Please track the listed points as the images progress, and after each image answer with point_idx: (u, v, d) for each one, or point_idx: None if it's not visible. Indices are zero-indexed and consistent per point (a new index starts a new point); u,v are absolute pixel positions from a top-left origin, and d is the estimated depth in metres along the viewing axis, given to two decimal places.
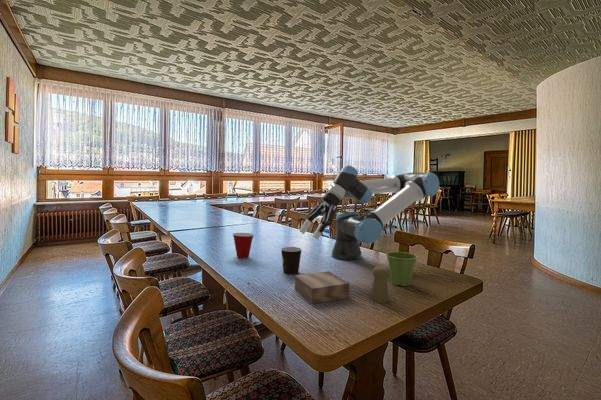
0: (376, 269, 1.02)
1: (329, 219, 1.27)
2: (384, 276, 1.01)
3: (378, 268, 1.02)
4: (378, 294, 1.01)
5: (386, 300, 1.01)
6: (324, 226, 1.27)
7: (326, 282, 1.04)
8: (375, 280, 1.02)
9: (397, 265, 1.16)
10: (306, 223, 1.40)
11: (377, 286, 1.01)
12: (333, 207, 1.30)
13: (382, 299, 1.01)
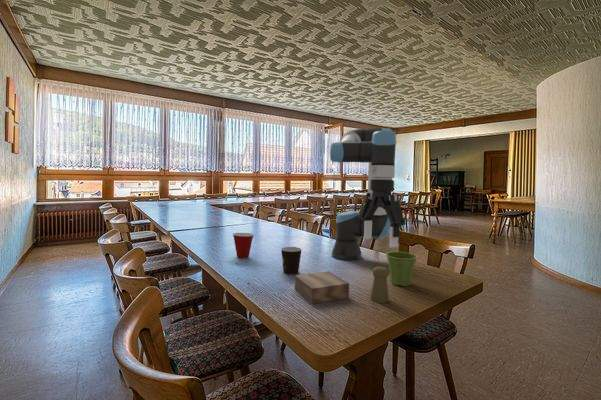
0: (376, 269, 1.02)
1: (399, 217, 0.93)
2: (384, 276, 1.01)
3: (378, 268, 1.02)
4: (378, 294, 1.01)
5: (386, 300, 1.01)
6: (397, 228, 0.94)
7: (326, 282, 1.04)
8: (375, 280, 1.02)
9: (397, 265, 1.16)
10: (367, 226, 1.08)
11: (378, 286, 1.01)
12: (394, 198, 0.95)
13: (382, 299, 1.01)
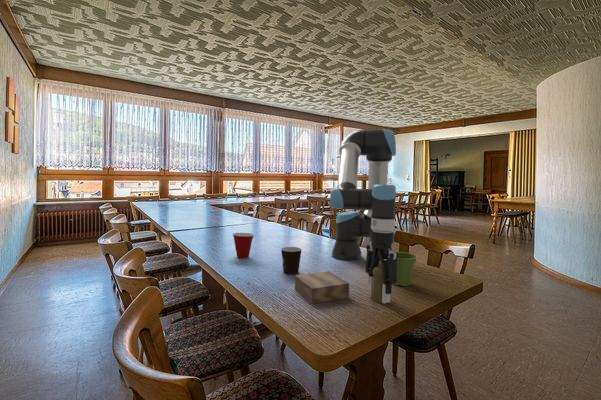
0: (376, 269, 1.02)
1: (392, 277, 0.97)
2: None
3: (378, 268, 1.02)
4: (378, 294, 1.01)
5: None
6: (389, 285, 0.99)
7: (326, 282, 1.04)
8: (375, 280, 1.02)
9: (397, 265, 1.16)
10: (372, 282, 1.06)
11: (378, 286, 1.01)
12: (393, 257, 0.96)
13: None
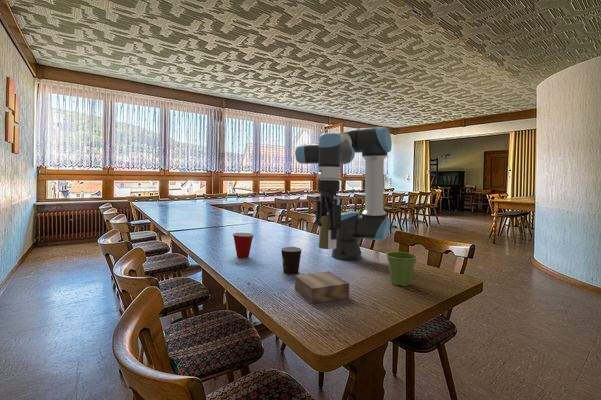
0: (323, 217, 1.05)
1: (336, 222, 1.00)
2: None
3: (325, 216, 1.05)
4: (325, 241, 1.04)
5: None
6: (334, 231, 1.01)
7: (326, 282, 1.04)
8: (322, 228, 1.05)
9: (397, 265, 1.16)
10: None
11: (324, 233, 1.04)
12: (336, 203, 0.99)
13: None
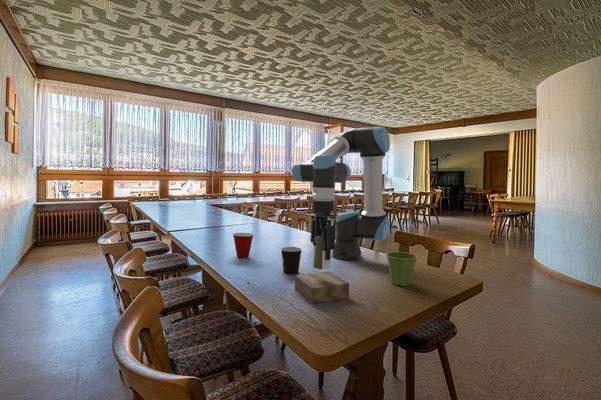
0: (317, 237, 1.05)
1: (330, 243, 1.00)
2: None
3: (319, 236, 1.06)
4: (319, 261, 1.05)
5: None
6: (328, 252, 1.02)
7: (326, 282, 1.04)
8: (317, 247, 1.06)
9: (397, 265, 1.16)
10: None
11: (318, 253, 1.05)
12: (330, 224, 1.00)
13: None
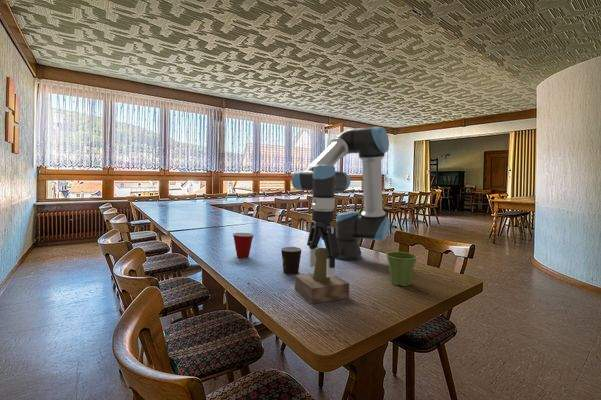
0: (317, 250, 1.06)
1: (334, 250, 0.98)
2: (324, 256, 1.05)
3: (319, 249, 1.06)
4: (318, 274, 1.05)
5: (326, 279, 1.05)
6: (333, 259, 1.00)
7: (326, 282, 1.04)
8: (316, 260, 1.06)
9: (397, 265, 1.16)
10: (312, 254, 1.12)
11: (318, 266, 1.05)
12: (330, 231, 1.00)
13: (322, 278, 1.05)
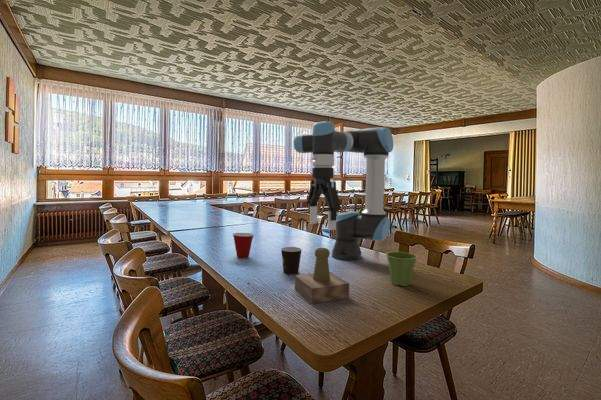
0: (317, 250, 1.06)
1: (335, 202, 1.01)
2: (324, 256, 1.05)
3: (319, 249, 1.06)
4: (318, 274, 1.05)
5: (326, 279, 1.05)
6: (334, 212, 1.02)
7: (326, 282, 1.04)
8: (316, 260, 1.06)
9: (397, 265, 1.16)
10: (312, 211, 1.15)
11: (318, 266, 1.05)
12: (331, 184, 1.02)
13: (322, 278, 1.05)
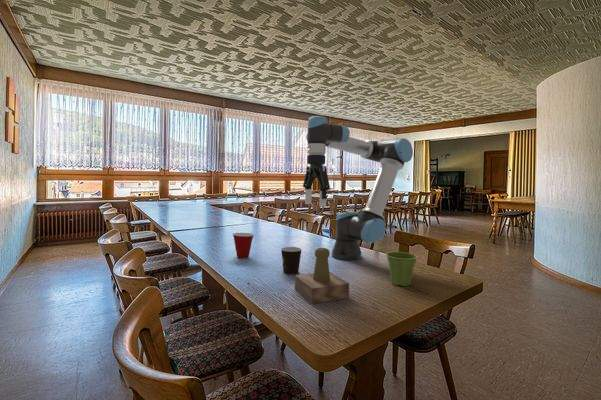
0: (317, 250, 1.06)
1: (325, 183, 1.20)
2: (324, 256, 1.05)
3: (319, 249, 1.06)
4: (318, 274, 1.05)
5: (326, 279, 1.05)
6: (324, 192, 1.21)
7: (326, 282, 1.04)
8: (316, 260, 1.06)
9: (397, 265, 1.16)
10: (307, 193, 1.34)
11: (318, 266, 1.05)
12: (322, 168, 1.22)
13: (322, 278, 1.05)
